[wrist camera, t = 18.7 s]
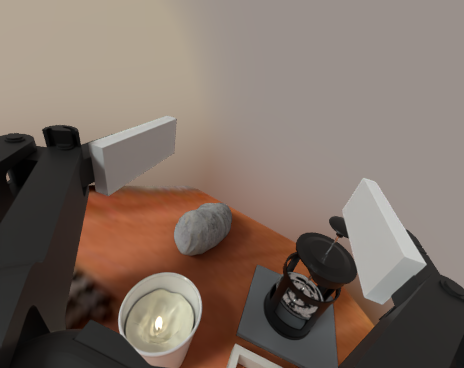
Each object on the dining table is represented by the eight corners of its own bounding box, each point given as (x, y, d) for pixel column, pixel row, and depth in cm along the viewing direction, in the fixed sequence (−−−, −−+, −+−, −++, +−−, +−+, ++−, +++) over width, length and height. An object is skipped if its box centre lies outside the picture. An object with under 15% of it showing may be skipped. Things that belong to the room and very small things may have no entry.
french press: (271, 346, 35) (336, 257, 23) (253, 291, 42) (295, 202, 30) (328, 333, 39) (411, 251, 26) (303, 285, 46) (358, 203, 34)
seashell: (219, 211, 62) (225, 183, 57) (245, 249, 53) (256, 219, 47) (163, 223, 54) (165, 191, 49) (183, 270, 44) (187, 237, 39)
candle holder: (142, 308, 37) (141, 265, 30) (198, 319, 37) (208, 279, 31) (109, 383, 28) (98, 345, 22) (181, 397, 29) (191, 364, 22)
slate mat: (336, 385, 33) (339, 383, 33) (236, 335, 36) (237, 332, 36) (330, 299, 46) (332, 297, 45) (256, 267, 49) (257, 264, 48)
